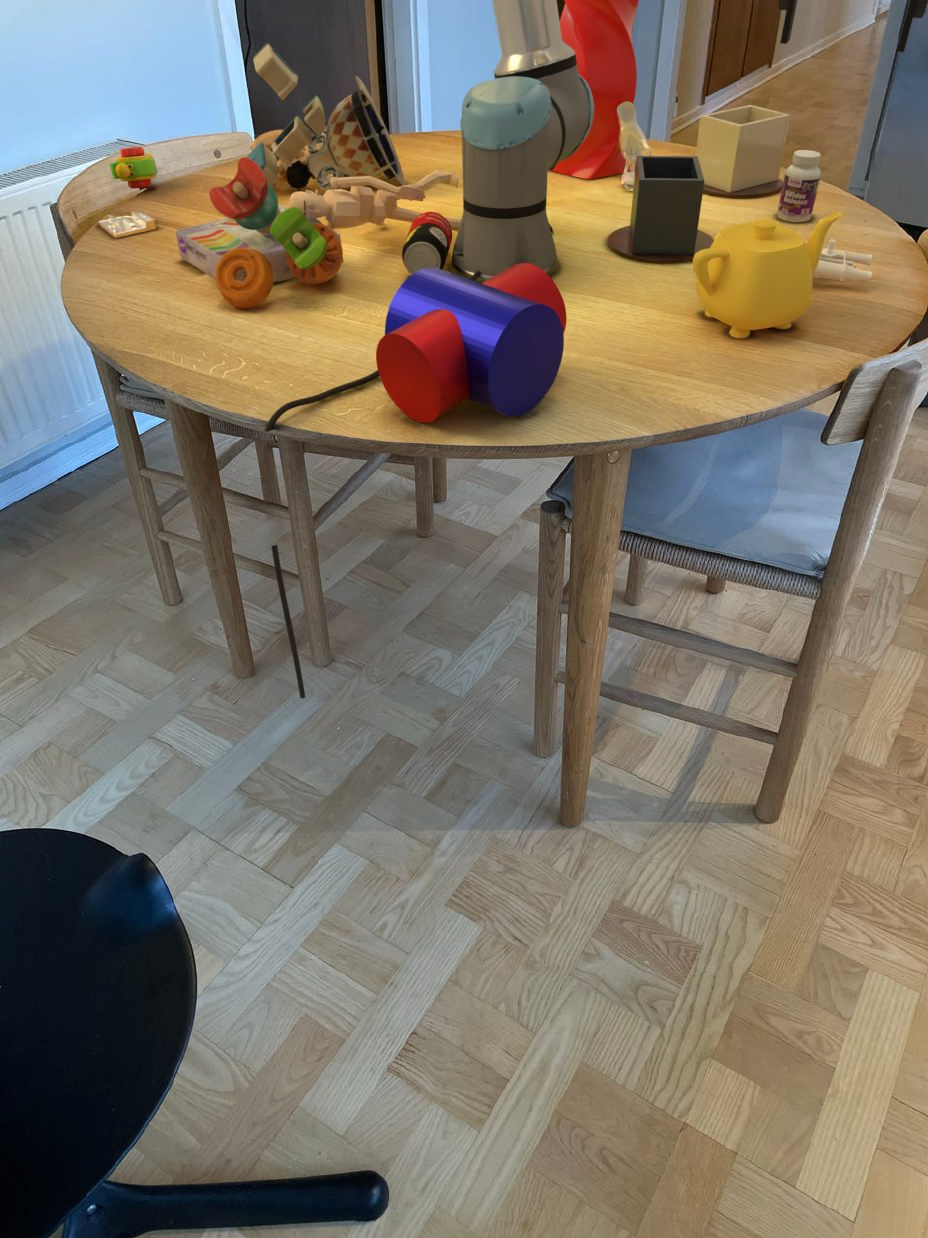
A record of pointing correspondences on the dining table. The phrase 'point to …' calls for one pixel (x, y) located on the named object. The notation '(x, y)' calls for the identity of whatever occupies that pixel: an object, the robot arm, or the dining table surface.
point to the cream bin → (741, 147)
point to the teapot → (759, 274)
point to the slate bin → (666, 204)
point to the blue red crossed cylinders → (472, 341)
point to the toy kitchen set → (297, 129)
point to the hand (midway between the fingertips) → (841, 45)
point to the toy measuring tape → (134, 167)
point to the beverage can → (427, 242)
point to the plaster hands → (630, 141)
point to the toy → (267, 141)
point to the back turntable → (746, 190)
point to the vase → (601, 78)
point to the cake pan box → (231, 246)
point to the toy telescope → (841, 265)
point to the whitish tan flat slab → (128, 224)
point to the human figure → (368, 200)
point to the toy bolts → (256, 208)
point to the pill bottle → (800, 187)
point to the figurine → (349, 146)
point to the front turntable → (622, 246)
